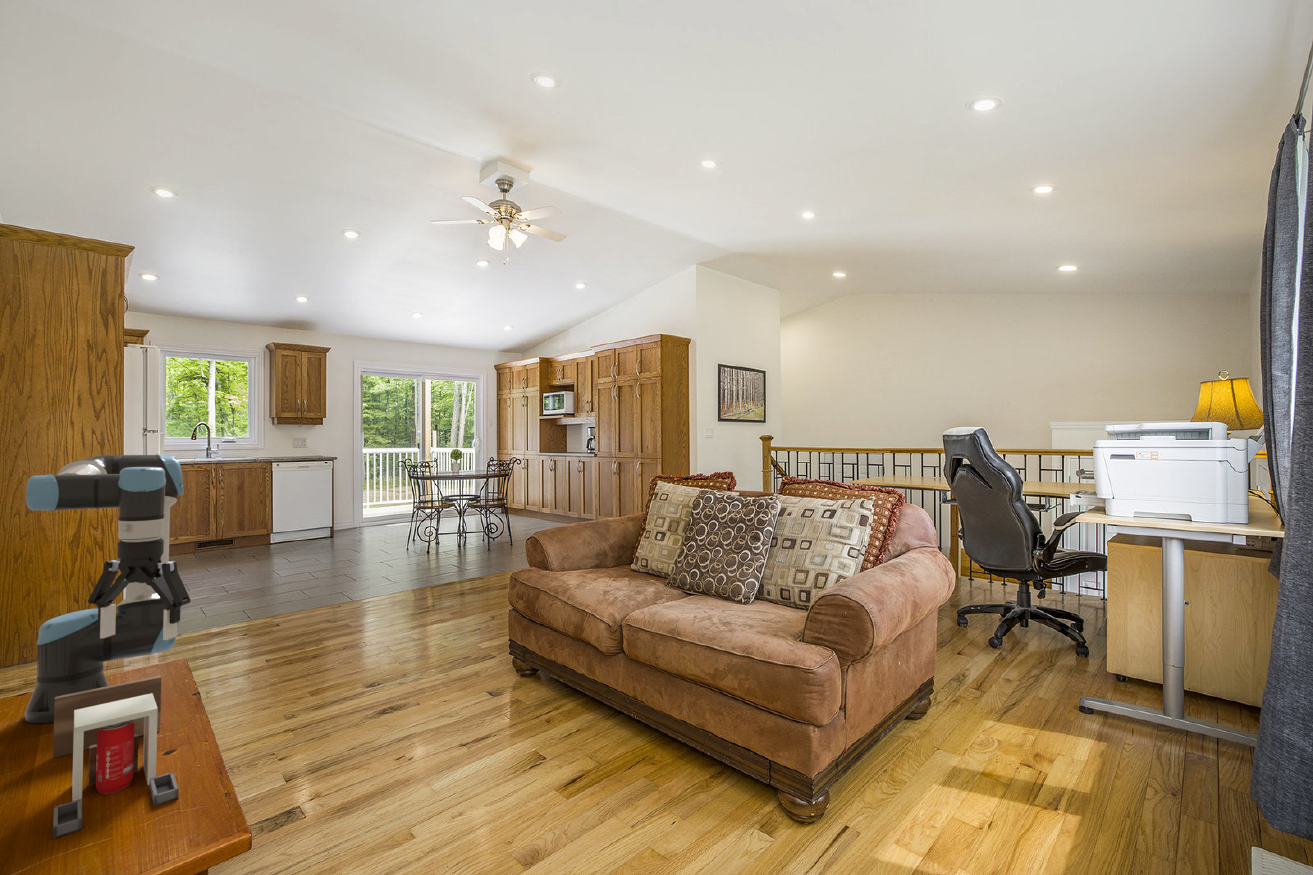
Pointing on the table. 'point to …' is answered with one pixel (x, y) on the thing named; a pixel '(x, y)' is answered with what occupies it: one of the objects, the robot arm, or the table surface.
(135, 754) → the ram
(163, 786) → the pit
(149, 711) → the tunnel
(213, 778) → the table surface
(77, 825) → the pit
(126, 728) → the beverage can
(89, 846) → the table surface
